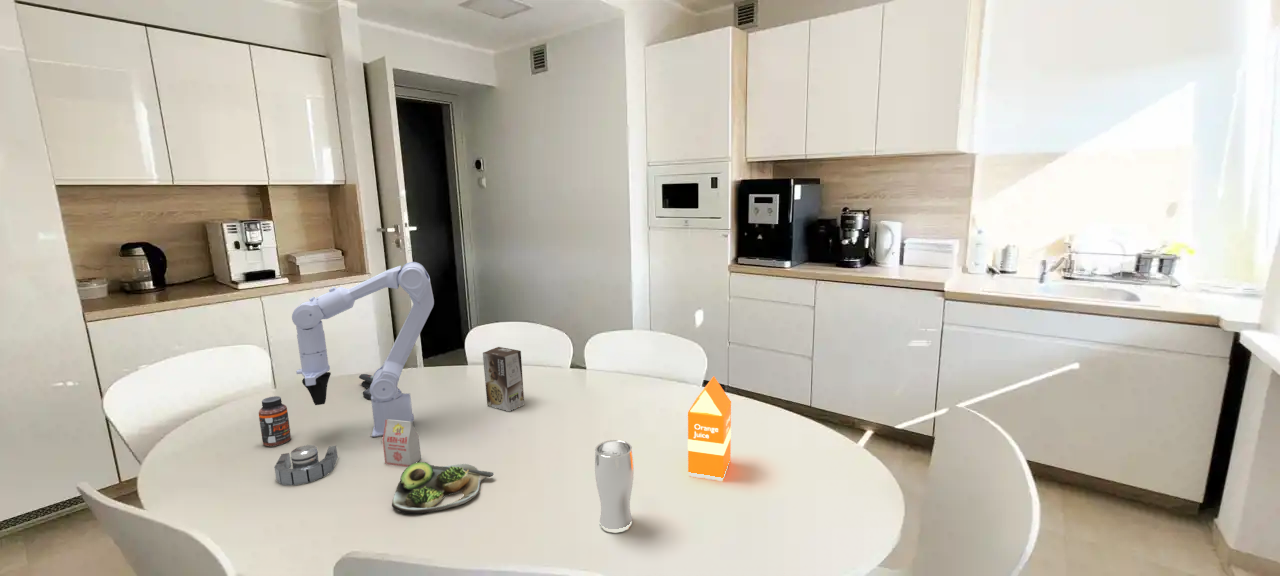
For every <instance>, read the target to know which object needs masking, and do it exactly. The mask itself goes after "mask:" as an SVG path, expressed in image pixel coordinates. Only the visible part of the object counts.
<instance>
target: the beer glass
mask: <svg viewBox="0 0 1280 576" xmlns="http://www.w3.org/2000/svg"><path fill="white" fill-rule="evenodd" d="M594 451H595V455H594V476H595V478H594V479H595V482H596V488H597V493H598V497H599V501H600V516H599V522H600V523H601V525H602V526H604V527H605V528H608V529H619V528H623V527H626V526H627V525H629V524H630V522H631V521H632V522H633V516H632V513H631V512H632V511H631V495H632V490H633V484H634V482H633V481H634V459H633V458H634V457H633V446H632V445H631V444H630V443H629V442H627V441H624V440H621V439H620V440H618V439H613V440H612V439H610V440H606V441H602V442H600V443H599V444H597V445H596V447H595V449H594Z"/></svg>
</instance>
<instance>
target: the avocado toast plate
mask: <svg viewBox="0 0 1280 576" xmlns="http://www.w3.org/2000/svg"><path fill="white" fill-rule="evenodd" d="M494 473H495V472H493V471H484V470H479V469H478V468H477V467H476V466H475V465H472V464H470V463H458V464H451V465H446V466H445V465H444V466H443V465H441V466H440V465H433V464H429V463H428V462H424V461H418V462H417V463H414V464H411V465H410V466H406V468H405V469H404V470H403V471H402V473H401V475H400V481H399V482H398V483H397V486H396V489H395V493H394V496H393V498H392V501H391V507H392V508H393V509H395V510H396V511H397V512H399V513H402V514H404V515H405V514H406V515H420V514H426V513H431V512H438V511H441V510H446V508H447V509H449V508H453V507H458V506H461V505H464V504H465V503H467V502H469V501H471V500H472V499H473V498H475V497H476V496H477V495H478V493H479V490H480V487H481V486H480V485H481V482H482V481H483V480H485V479H487V478H492V477H493V476H494ZM452 493H453V494H454V493H456V494H458V493H461V494H462V495H463V494H464V496H461V499H460V498H459V499H457V500H455V501H452V502H449V503H447V504H444V505H439V506H437V505H438V504H439V503H440V502H441V501H442V498H443V497H444V496H445V497H447V496H450V495H453V494H452ZM449 494H450V495H449ZM454 495H455V494H454ZM445 497H444V498H445ZM444 498H443V499H444ZM440 500H441V501H440ZM438 502H439V503H438ZM437 503H438V504H437ZM437 510H438V511H437Z"/></svg>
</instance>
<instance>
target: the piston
mask: <svg viewBox="0 0 1280 576" xmlns="http://www.w3.org/2000/svg"><path fill="white" fill-rule="evenodd" d="M290 461H291V466H292V469H298V468H304V467H308V466H311V465H314V464H316V463H318V462H320V460H319V450H318V447H317V446H316V445H314V444H307V445H306V444H305V445H302V446H298V447H296V448H294V449H293V450H291V452H290Z"/></svg>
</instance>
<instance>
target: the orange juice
mask: <svg viewBox="0 0 1280 576" xmlns="http://www.w3.org/2000/svg"><path fill="white" fill-rule="evenodd" d="M731 425H732V400H731V399H730V397H729V396H728V395H727V393H726V392H725V390H724V389H723V387H722V386H721V384H720V383H719V381H718V380H717V379H716V377H715V376H714V375H713V377H712V378H711V379H710V380H709V381H708V383H706V385H705V387H704V388H703V390H702V391H701V392H700V393H699V395H697V397H696V398H695V400H694V402H693V403H692V404H691V407H690V408H689V409H688V411H687V465H688V466H687V467H688V468H687V469H688V470H687V473H688V472H691V473H697V474H704V475H710V476H715V477H721V478H723V477H724V474H725V471H726V469H727V466H728V463H729V461H730V462H731V449H732V447H731V445H732V444H731V443H732V442H731V441H732V440H731V439H732V426H731Z"/></svg>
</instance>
